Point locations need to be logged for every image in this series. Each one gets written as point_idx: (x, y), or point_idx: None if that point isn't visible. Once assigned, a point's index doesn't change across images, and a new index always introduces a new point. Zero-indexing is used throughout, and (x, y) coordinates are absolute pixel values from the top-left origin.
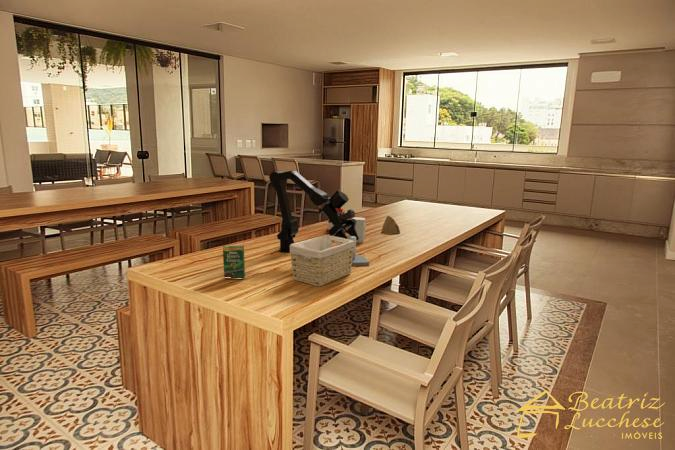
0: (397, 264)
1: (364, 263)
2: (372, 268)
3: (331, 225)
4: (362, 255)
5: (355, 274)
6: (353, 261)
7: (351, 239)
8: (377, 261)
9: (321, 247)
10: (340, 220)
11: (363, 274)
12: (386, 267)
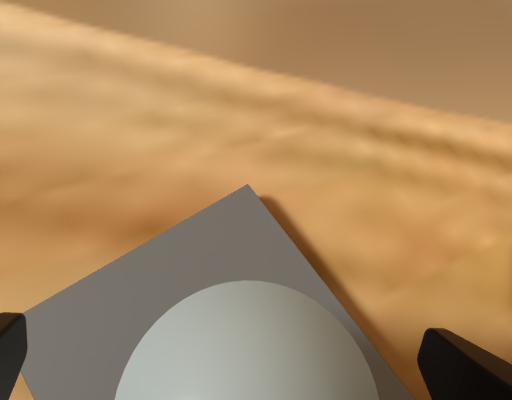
0: (107, 36)
1: (270, 220)
2: (298, 155)
3: None
4: None
5: (490, 215)
6: None
7: (346, 351)
8: (85, 170)
9: None
10: None
11: (452, 171)
12: (220, 83)
